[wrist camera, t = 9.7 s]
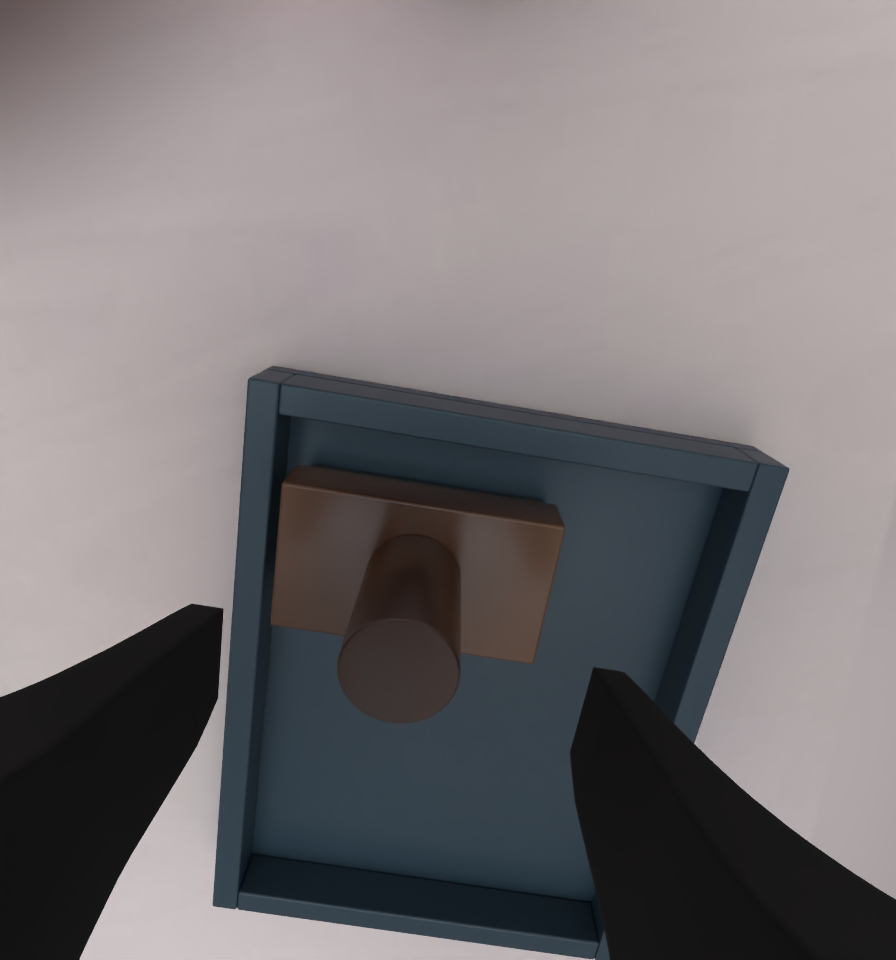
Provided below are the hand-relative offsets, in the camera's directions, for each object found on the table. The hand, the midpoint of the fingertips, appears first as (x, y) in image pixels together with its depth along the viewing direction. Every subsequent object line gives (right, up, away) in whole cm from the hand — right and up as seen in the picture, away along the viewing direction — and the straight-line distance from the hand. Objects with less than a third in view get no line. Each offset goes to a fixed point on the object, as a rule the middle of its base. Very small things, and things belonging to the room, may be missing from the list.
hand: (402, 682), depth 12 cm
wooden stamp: (0, +2, +6) cm, 7 cm away
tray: (+1, -2, +8) cm, 9 cm away
